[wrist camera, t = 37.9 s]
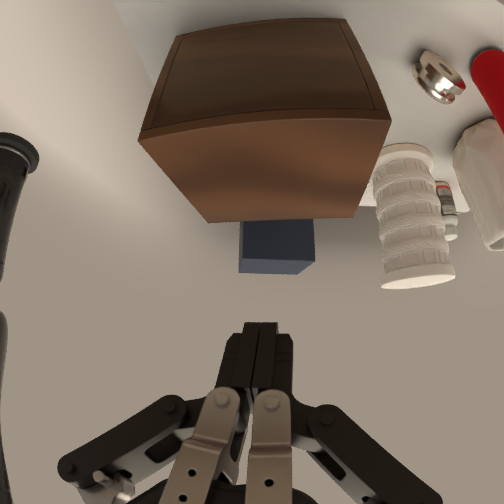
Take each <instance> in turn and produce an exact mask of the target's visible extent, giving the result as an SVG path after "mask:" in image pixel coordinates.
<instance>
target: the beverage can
mask: <svg viewBox="0 0 504 504" xmlns="http://www.w3.org/2000/svg"><path fill="white" fill-rule="evenodd" d="M471 77H472V80H473V82H474V83H475V85H476V86H477V88H478V89H479V91H480V93H481V94H482V96H483V97H484V99H485V101H486V103H487V104H488V106H489V108H490V110H491V111H492V113H493V115H494V117H495V119H496V121H497V123H498V125H499V126H500V128H501V130H502V133H503V135H504V52H502V51H500V50H495V49H491V50H486V51H484V52H482V53H480V54H479V55H478V56H477V57H476V58H475V60H474V61H473V63H472V66H471Z"/></svg>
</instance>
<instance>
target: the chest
mask: <svg viewBox="0 0 504 504" xmlns="http://www.w3.org/2000/svg"><path fill="white" fill-rule="evenodd" d="M290 109H367V110H382V111H388V108H387V106H386V103H385V100H384V98H383V95H382V93H381V90H380V88H379V86H378V83H377V81H376V79H375V76H374V74H373V72H372V70H371V67H370V65H369V63H368V61H367V59H366V57H365V55H364V53H363V51H362V49H361V47H360V45H359V43H358V41H357V39H356V37H355V35H354V34H353V32H352V30H351V28H350V26H349V25H348V23H347V21H346V19H331V18H293V19H275V20H263V21H254V22H246V23H239V24H232V25H226V26H220V27H215V28H210V29H205V30H201V31H196V32H192V33H188V34H184V35H180V36H176V37H175V39H174V42H173V44H172V46H171V48H170V51H169V53H168V55H167V58H166V60H165V63H164V65H163V68H162V70H161V73H160V75H159V78H158V80H157V83H156V86H155V88H154V91H153V94H152V97H151V100H150V103H149V106H148V109H147V112H146V115H145V118H144V121H143V124H142V127H141V131H145V130H149V129H153V128H158V127H162V126H167V125H172V124H177V123H182V122H187V121H193V120H198V119H204V118H211V117H217V116H225V115H232V114H241V113H250V112H261V111H273V110H290Z"/></svg>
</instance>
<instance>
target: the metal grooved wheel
mask: <svg viewBox="0 0 504 504" xmlns="http://www.w3.org/2000/svg"><path fill="white" fill-rule="evenodd" d="M420 62H421V64H420V63H416V64H415V65H414V66H413V68H412V74H413V77H414V79H415V80H416V82H417V83H418V85H419V86H420V87H421V88H422V89H423V90H424V91H425V92H426V93H427V94H428V95H429V96H431V97H432V98H433V99H435V100H436V101H438V102H440V103H443V104H451V103H452V102H453V101H454V100H455V95H454V94H456V95H460V94H461V93H462V92H463V91H464V90H465V88H466V85H465V83H464V81H463V79H462V78H461V76H460V75H459V74H458V73H457V71H456V70H455V69H454V68H453V67H452V66H451V65H450V64H448V63H447V62H446V61H445V60H444V59H442V58H441V57H439V56H438V55H436V54H435V53H433V52H430V51H424V52H423V54H422V55H421V57H420Z"/></svg>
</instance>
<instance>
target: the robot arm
mask: <svg viewBox="0 0 504 504" xmlns="http://www.w3.org/2000/svg"><path fill="white" fill-rule="evenodd" d="M30 166H31V162H30V159H29V158H28V156H27V155H26V154H25V153H24V152H23V151H21V150H20V149H18V148H16V147H14V146H11V145H8V144H0V281H1V280H2V277H3V271H4V264H5V257H6V252H7V246H8V241H9V236H10V232H11V227H12V223H13V219H14V215H15V212H16V207H17V204H18V201H19V197H20V194H21V191H22V188H23V185H24V182H26V179H27V175H28V171H29V169H30ZM7 340H8V328H7V321H6V318H5V316H4V314H3V313H2V312H1V311H0V402H1V389H2V379H3V371H4V364H5V358H6V351H7ZM292 378H293V341H292V339H291V337H290V335H289V334H279V333H278V323H277V322H274V323H273V322H272V323H270V322H262V323H260V322H257V323H256V322H245V323H244V328H243V332H242V333H233V334H232V336H231V337H230V338H229V339H228V340H227V343H226V347H225V352H224V355H223V359H222V362H221V366H220V370H219V374H218V378H217V382H216V385H215V388H214V389H213V390H212V391H210V392H209V393H208V395H207V396H205V397H203V398H200V399H194V400H188V401H184V400H183V399H182V398H181V397H179V396H177V395H166V396H164V397H162V398H160V399H159V400H157V401H156V402H154V403H153V404H151V405H149V406H148V407H146V408H145V409H143V410H142V411H140V412H139V413H137V414H136V415H134V416H132V417H130V418H129V419H127V420H126V421H124V422H122V423H121V424H119V425H117V426H116V427H114V428H112V429H111V430H109V431H107V432H106V433H104V434H102V435H101V436H99V437H97V438H95V439H94V440H92V441H90V442H88V443H87V444H85V445H83V446H81V447H79V448H77V449H76V450H74V451H72V452H70V453H68V454H66V455H64V456H63V457H62V458H61V459H60V460H59V462H58V466H57V469H58V473H59V475H60V477H61V478H62V479H63V480H65V481H66V482H68V483H70V484H72V485H74V486H75V487H76V488H77V489H78V491H79V493H80V495H81V496H82V498H83V500H84V502H85V503H86V504H318V503H316V501H315V500H314V499H313V498H311V497H310V496H308V495H307V494H305V493H304V492H302V491H299V490H297V489H294V488H292V448H291V446H294V447H297V448H300V449H303V450H306V451H307V453H308V454H309V455H310V456H311V457H312V458H313V459H314V460H315V461H316V462H317V464H318V465H319V466H320V467H321V468H322V469H323V470H324V471H325V472H326V473H327V474H328V475H329V476H330V477H331V478H332V479H333V480H334V481H335V482H336V483H337V484H338V485H339V486H340V487H341V488H342V489H343V490H344V491H345V492H346V493H347V494H348V495H349V496H350V497H351V498H352V499H353V500H354V501H355V502H356V503H357V504H443V501H442V498H441V496H440V495H439V494H438V493H437V492H435V491H434V490H433V489H432V488H430V487H429V486H428V485H427V484H425V483H424V482H423V481H422V480H420V479H419V478H418V477H416V475H414V474H413V473H412V472H411V471H409V470H408V469H407V468H406V467H405V466H404V465H402V464H401V463H400V462H399V461H398V460H396V459H395V458H394V457H393V456H392V455H391V454H389V453H388V452H387V451H386V450H385V449H384V448H383V447H381V446H380V445H379V444H378V443H377V442H376V441H375V440H374V439H372V438H371V437H370V436H369V435H368V434H367V433H366V432H365V431H364V430H362V429H361V428H360V427H359V426H358V425H357V424H356V423H355V422H354V421H353V420H351V419H350V418H349V417H348V416H347V415H346V414H345V413H344V412H343V411H342V410H341V409H340V408H338V407H336V406H334V405H328V404H326V405H320V406H318V407H316V408H315V407H311V406H308V405H304V404H302V403H300V402H299V401H297V400H296V399H295V398H294V396H293V394H292ZM249 414H253V425H252V441H251V449H250V450H249V455H248V468H247V481H246V484H244V485H236V482H237V478H238V473H239V461H240V457H241V454H242V450H243V446H244V442H245V438H246V434H247V431H248V421H249ZM175 459H176V460H175ZM174 460H175V463H174V465H173V468H172V470H171V473H170V476H169V478H168V479H165V480H163V481H161V482H159V483H158V484H156V485H155V486H153V487H152V488H150V489H149V490H147V491H145V492H144V493H142V494H141V495H139V496H138V497H136V498H134V499H133V500H131V501H129V502H128V503H126V502H127V501H128V500H129V499H131V498H132V497H133V496H134V494H135V486H134V485H135V484H136V483H138V482H140V481H142V480H143V479H145V478H147V477H148V476H150V475H152V474H153V473H155V472H156V471H158V470H160V469H161V468H163V467H164V466H166V465H167V464H169V463H170V462H172V461H174ZM0 504H14V503H13V499H12V495H11V491H10V485H9V480H8V475H7V469H6V465H5V459H4V452H3V446H2V436H1V423H0Z"/></svg>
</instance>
